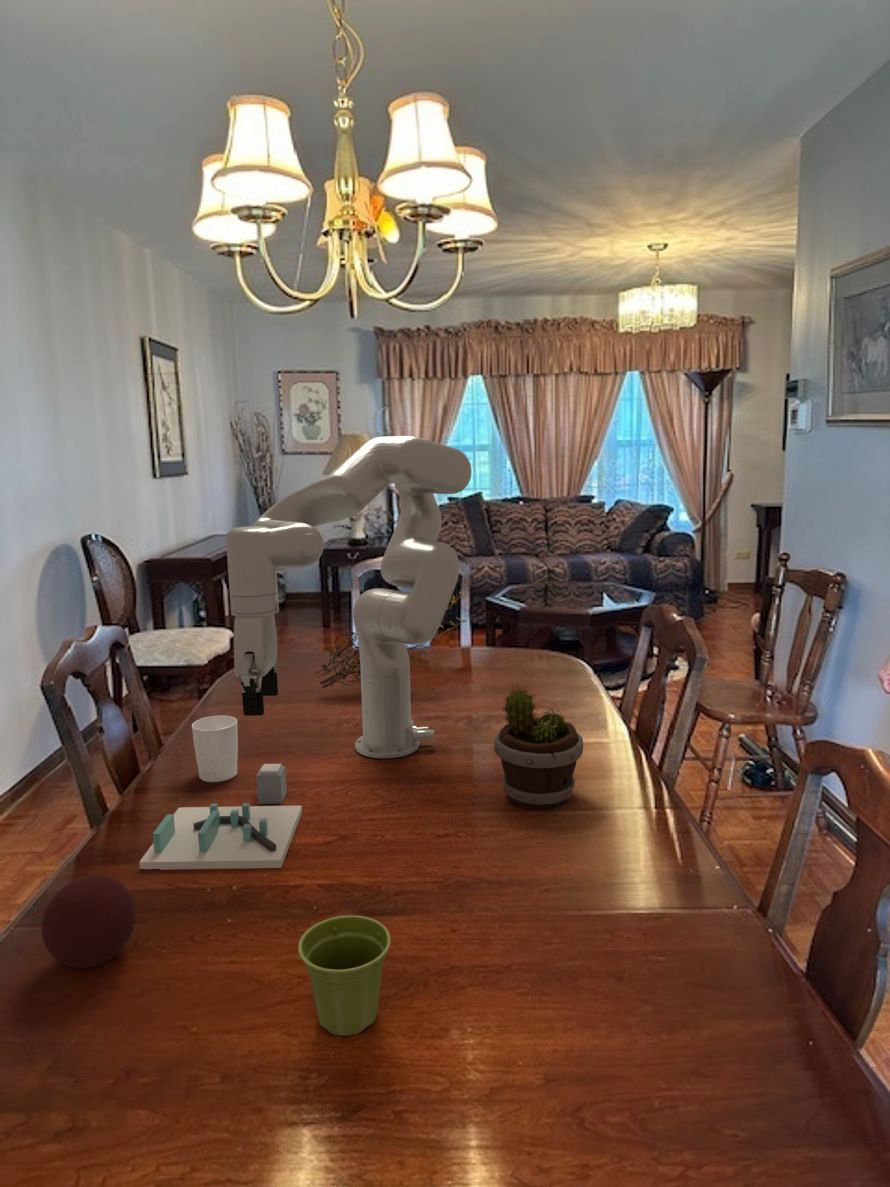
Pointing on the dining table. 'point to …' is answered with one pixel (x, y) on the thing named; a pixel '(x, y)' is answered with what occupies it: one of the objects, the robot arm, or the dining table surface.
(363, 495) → the robot arm
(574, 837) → the dining table surface
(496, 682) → the dining table surface
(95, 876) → the decorative ball
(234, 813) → the clips
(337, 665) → the dried plant
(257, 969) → the dining table surface
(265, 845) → the cable
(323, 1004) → the plant pot
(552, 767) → the flowerpot
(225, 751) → the white cup
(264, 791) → the block
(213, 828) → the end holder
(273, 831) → the board
